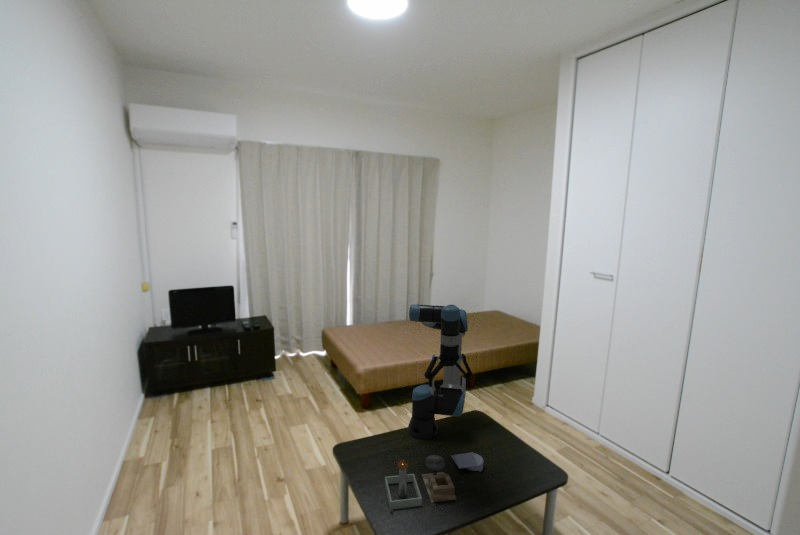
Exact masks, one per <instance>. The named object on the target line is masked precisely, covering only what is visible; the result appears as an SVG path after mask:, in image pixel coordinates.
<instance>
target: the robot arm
mask: <svg viewBox="0 0 800 535" xmlns="http://www.w3.org/2000/svg"><path fill="white" fill-rule="evenodd" d="M408 312H409V313H408V317H409V321H410V322H415V323H419V322H420V323H421V324H422V325H423V326H424V327H428V328H430V329H433V330H438V331H439V330H440V340H439V341H440V346H439V347H440V348H439V349H440V350H439V353H440V354H439V355H435V354H433V355H432V357H431V361H430V363H429V365H428V367H427V368H426V371H425V372H424V374H423V376H424V378H425V379H426V380H428V383H427V384H421V385H419V386H418V385H417V386H415V387H414V388H413V389H412V390H413V391H412V396H411V400H412V402H411V403H412V404H411V418H410V420H409V423H408V427H407V429H408V430H407V431H408V433H409V435H410V436H412V437H414V438H416V439H420V440H428V439H432V438H434V437H436V436H437V434H438V433H439V432H438V431H439V430H438V428H439V427H438V423H437V421H436V416H435V415H437V416H448V417H449V416H450V417H462V415H463V412H464V406H465V401H466V396H467V395H466V386H468V384H469V379H470V377H473V372H472V370H471V367H470V366H469V363H468V362H467V356H466V355H465V354H464V353H462V350H463V348H462V346H463V338H464V336H466V333H467V332H468V331H469V328H468V317H467V316H468V315H467V312H466V310H464V309H460V308H459V306H457V305H455V304H448V305H429V304H419V303H418V304H417V303H416V304H411V305H410V306H409V310H408ZM439 360H440V361H439ZM438 361H439V362H438ZM437 362H438V364H437ZM462 363H463V366H464V368H465V370H466V371H465V370H464V369H463V368H462ZM436 364H437V365H436ZM434 367H435V368H434ZM441 369H443V382H442V384H441V385H439V390H438V389H437V388H436V387H435V379H434V378H435V377H436V376H437V375H438V373H439V372H440V371H441ZM461 374H462V375H461Z"/></svg>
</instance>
